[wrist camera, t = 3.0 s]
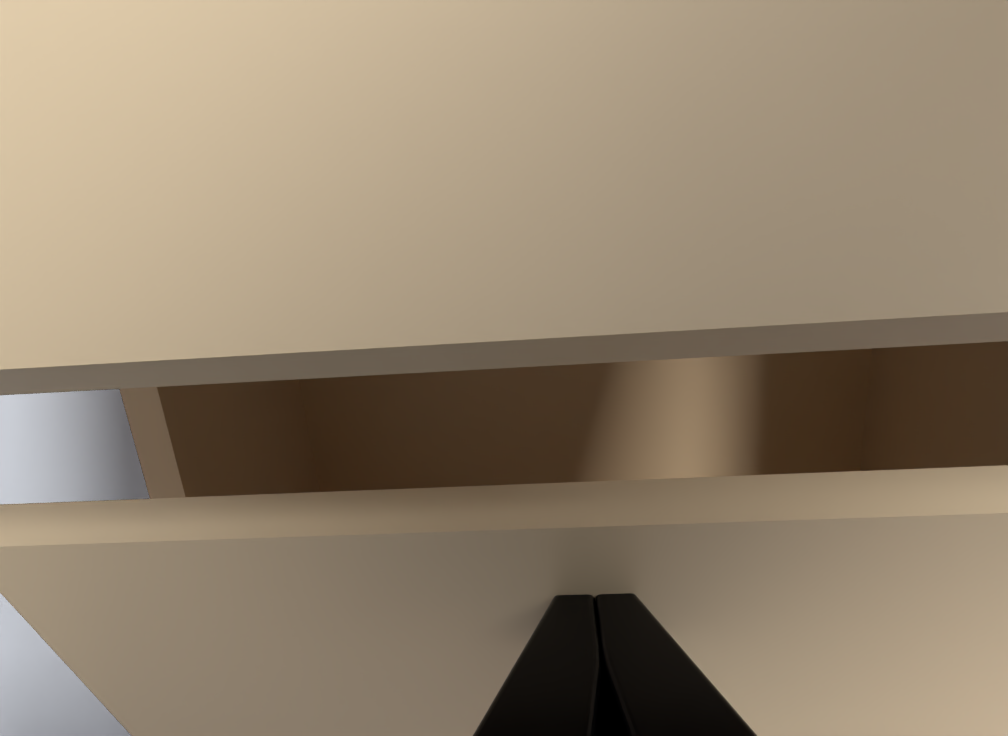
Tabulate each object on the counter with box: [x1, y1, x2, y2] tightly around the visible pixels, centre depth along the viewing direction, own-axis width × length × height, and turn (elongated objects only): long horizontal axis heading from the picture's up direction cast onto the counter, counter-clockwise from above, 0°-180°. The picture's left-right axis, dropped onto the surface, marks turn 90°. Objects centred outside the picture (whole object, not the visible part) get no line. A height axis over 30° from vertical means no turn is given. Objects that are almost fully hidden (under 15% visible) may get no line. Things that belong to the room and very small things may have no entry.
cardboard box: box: [120, 341, 1008, 499], centre depth 13 cm, size 14×18×6 cm
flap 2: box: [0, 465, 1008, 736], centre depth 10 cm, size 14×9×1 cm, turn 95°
